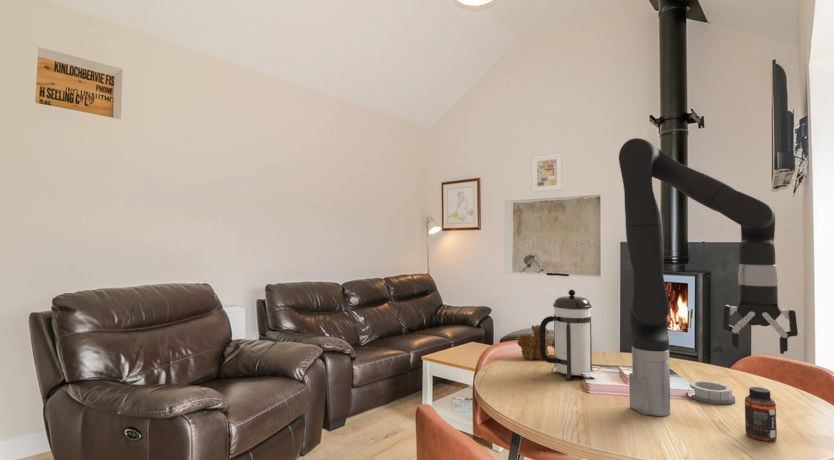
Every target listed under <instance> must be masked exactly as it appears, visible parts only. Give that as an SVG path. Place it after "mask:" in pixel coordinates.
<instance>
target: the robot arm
mask: <svg viewBox="0 0 834 460" xmlns="http://www.w3.org/2000/svg"><path fill="white" fill-rule="evenodd" d="M618 163H619V169H620V173H621V178H622V183H623V192H624V214H625V235H626V236H625V237H626V245H627V249H628V250H627V251H628V255H629V261H630V264H631V267H632V275H633V292H632V293H633V295H632V297H631V300H630V309H629V310H630V336H631V363H632V364H631V367H632V369H631V370H632V372H629V374H628V376H629V377H628V381H629V382H628V385H629V386H628V387H629V388H628V389H629V391H628V392H629V408H631V409H632V410H634V411H636V412H638V413H640V414H641V415H644V416H645V415H646V416H653V417H654V416H655V417H665V416H669V415H670V414H671V380H670V379H671V378H670V377H671V376H670V375H671V370H670V340H669V334H668V333H669V331H668V317H669V314H670V303H669V300H668V295H667V290H666V283H665V277H664V255H665V254H664V253H665V252H664V251H665V249H664V228H663V218H662V214H661V209H660V207H659V203H658V201H657V198H656V195H655V191H654V187H653V178H654V179H656V180H659V181H661V182H664V183H665V184H668V185H669V186H671V187H673V188H675V189H676V190H677V191H679V192H680V193H682V194H683V195H685V196H687V197H688V198H690V199H692V200H694V201H695V202H697V203H699V204H701V205H703V206H705V207H706V208H709V209H710V210H712V211H715V212H717V213H720V214H721V215H723V216H725V217H726V218H728V219H729V220H731V221H733V222H734V223H736V224H738V225H739V226H740V237H741V239H740V240H741V241H740V243H739V248H738V254H739V255H738V257H739V258H738V259H739V260H738V261H739V267H738V272H737V273H738V277H737V281H738V305H737V306H733V305H729V304H725V305H724V306H723V320H722V322H723V323H722V329H723V330H725V331H728V332H731V344H732V347H735V349H737V350H740V332H739V331H740V330H742V329H743V328H744V327H745V326H746V325H747V324H748V325H750V326H761V327H768V326H771V327H772V328H773V330H775V331H776V332H777V333H778V334H779V337H778V338H779V354H782V355H785V352H788V349H789V348H788V346H789V343H788V339H789V338H791V337H797V336H798V334H799V333H798V324H797V315H796V314H797V313H796V311H795V310H794V309H793V308H789V309H780V308H779V300H778V299H779V297H778V295H779V290H778V274H777V273H778V272H777V268H776V249H775V233H776V232H775V231H776V214H775V211H774V209H773V207H772V206H770V204H768V203H767V202H764V201H762V200H760V199H758V198H755V197H753V196H751V195H748V194H746V193H744V192H741V191H739V190H737V189H735V188H734V187H733V186H731V185H729V184H727V183H725V182H723V181H722V180H719V179H717V178H715V177H713V176H710V175H708V174H706V173H704V172H701V171H699V170H696V169H693V168H692V167H689V166H687V165H684V164H683V163H680V162H679V161H677V160H676V159H673V158H672V157H670V156H669V155H668V154H666V153H665V152H663V151H662V150H661V149H660V148H658V147H657V145H655V144H654V143H652V142H650V141H649V140H646V139H644V138H637V137H635V138H631V139H629V140H627V141H626V142H625V143H624V144H622V146H621V148H620V149H619V153H618ZM736 312H737V314H739V315H740V317H741V318H740V320H739V321H737V323H735V325H734V326H733V325H731V324H730V317H731V316H732V315H734V313H736ZM781 315H782V316H784V318H785V319H787V320H788V323H789V329H788V330H785V329H784V328H783V327H782V326H781V324H779V323H778V321H776V320H778V318H779V317H780V316H781Z"/></svg>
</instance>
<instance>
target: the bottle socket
mask: <svg viewBox="0 0 834 460" xmlns="http://www.w3.org/2000/svg"><path fill="white" fill-rule="evenodd" d="M690 387H691V388H692V389H694V391H695V395H692V396H691V398H690V399H692V400H694V401H697V402H700V403H704V404H709V405H715V406H716V405H717V406H729V405H733V404H735V403H736V397H735V396H734V395H733V388H731V386H729V385H727V384H725V383H720V382H716V381H712V380H711V381H709V380H693V381H691V382H689V388H690Z"/></svg>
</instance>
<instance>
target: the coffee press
mask: <svg viewBox="0 0 834 460" xmlns="http://www.w3.org/2000/svg"><path fill="white" fill-rule="evenodd" d="M567 293H568V295H569V296H560V297H557V298H556V299H555V300H554V303H553V304H552V307H553V310H554V311H553V313H554V314H553V316H552V315H550V316H547V317H545V318H543V319H542V321H541V323H540V324H539V325H540V332H539V340H540V355H541V357H542V359H543V360H542V361H544V362H546V363H548V364H554V366H553V367H552V369H550V371H551V373H552V374H556V373H557V372H559V373H561V374H564V375H566V376H565V379H566V381H568V380H569V381H568V382H571V381H572V377H573V376H582V375H581V374H582V373H586V372H590V371H591V372H592V371H593V372H594V370H593V351H592V350H593V348H592V347H593V345H592V344H593V343H592V334H593V333H592V315H591V313H592V312H593V309H592V304H591V303H590V301H589V300H588V299H587V298H585V297H582V296H575V294H576V291H575V290H574V289H569V290H568V292H567ZM551 322H553V333H554V334H553V335H554V336H553V337H554V338H553V341H554V346H553V347H554V349H553V350H554V354H553V355H554V356H555V358H548V357H547V355H546V347H545V339H546V337H545V329H546V328H547V325H548V324H549V323H551ZM554 368H555V369H556V371H554ZM591 372H590V373H591Z"/></svg>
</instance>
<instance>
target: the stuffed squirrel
mask: <svg viewBox="0 0 834 460" xmlns="http://www.w3.org/2000/svg"><path fill="white" fill-rule="evenodd" d="M540 325H541V324H537V325H531V329H532V331H533V332H532V333H533V335H532V334H530V333H525V334H520V335H518V337H516V340H517V341H516V342H517V345H518V346H519V347H520V349H521V353H522V354H521V355H522V357H524V358H525V359H526V358H527V359H526V360H528V359H529V361H533V360H532V359H534V360H537V359H538V361H544V360H543V359H542V357H541V355H540V340H539V332H540ZM547 336H549V337H550V336H551V334H550V332H549V330H548V328H547V327H546V329H545V347H546V355H547V357H548V358H555V356H554V354H549V348H548V347H552V345H553V341H552V340H551V339H549V340H548V339H546V337H547Z"/></svg>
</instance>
